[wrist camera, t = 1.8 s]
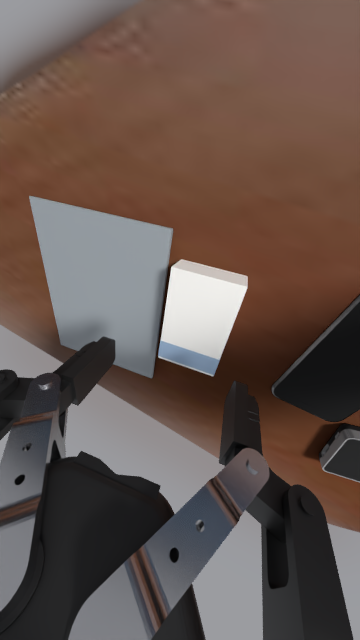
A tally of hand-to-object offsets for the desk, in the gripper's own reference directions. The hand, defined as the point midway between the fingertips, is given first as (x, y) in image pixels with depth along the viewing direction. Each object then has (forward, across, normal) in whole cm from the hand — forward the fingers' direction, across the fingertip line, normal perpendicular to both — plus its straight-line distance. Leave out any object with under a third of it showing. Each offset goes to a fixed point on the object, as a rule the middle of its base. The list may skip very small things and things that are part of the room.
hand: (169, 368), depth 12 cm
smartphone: (+8, -15, 0) cm, 17 cm away
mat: (+8, +10, +2) cm, 13 cm away
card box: (+8, -1, 0) cm, 8 cm away
